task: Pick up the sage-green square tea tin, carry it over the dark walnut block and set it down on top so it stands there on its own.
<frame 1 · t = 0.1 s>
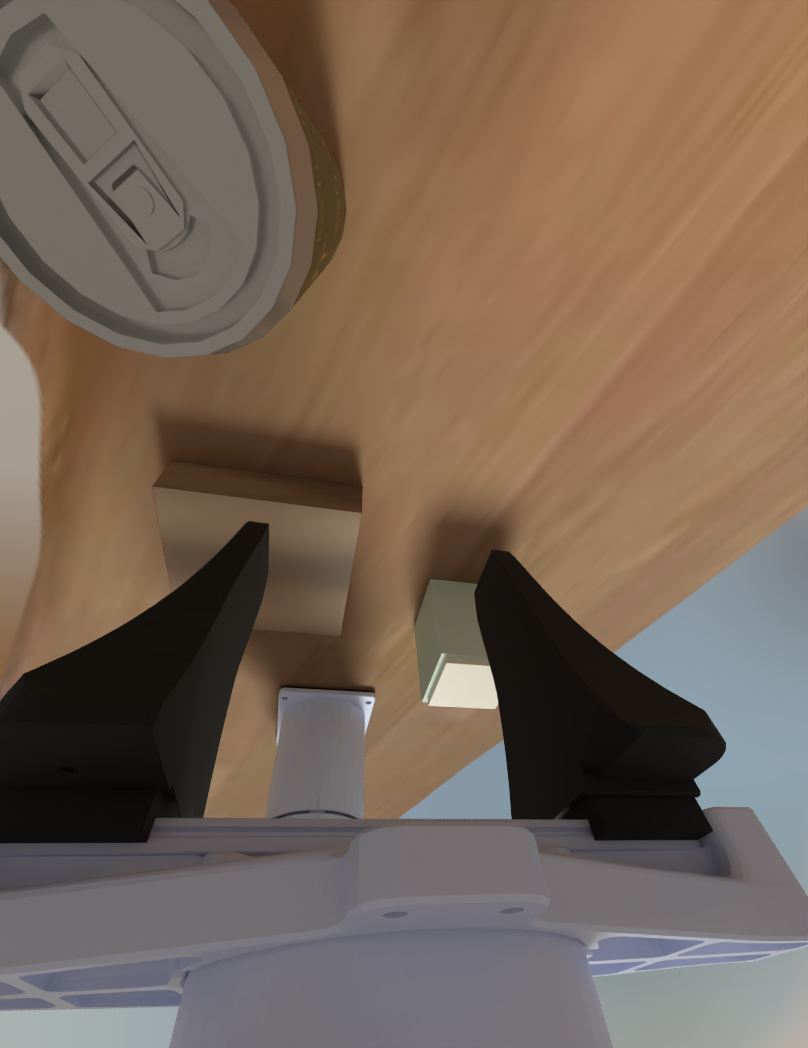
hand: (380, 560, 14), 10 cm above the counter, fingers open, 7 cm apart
walnut block: (271, 539, 26), on the counter
beer can: (276, 200, 16), on the counter
tea tin: (455, 606, 30), on the counter
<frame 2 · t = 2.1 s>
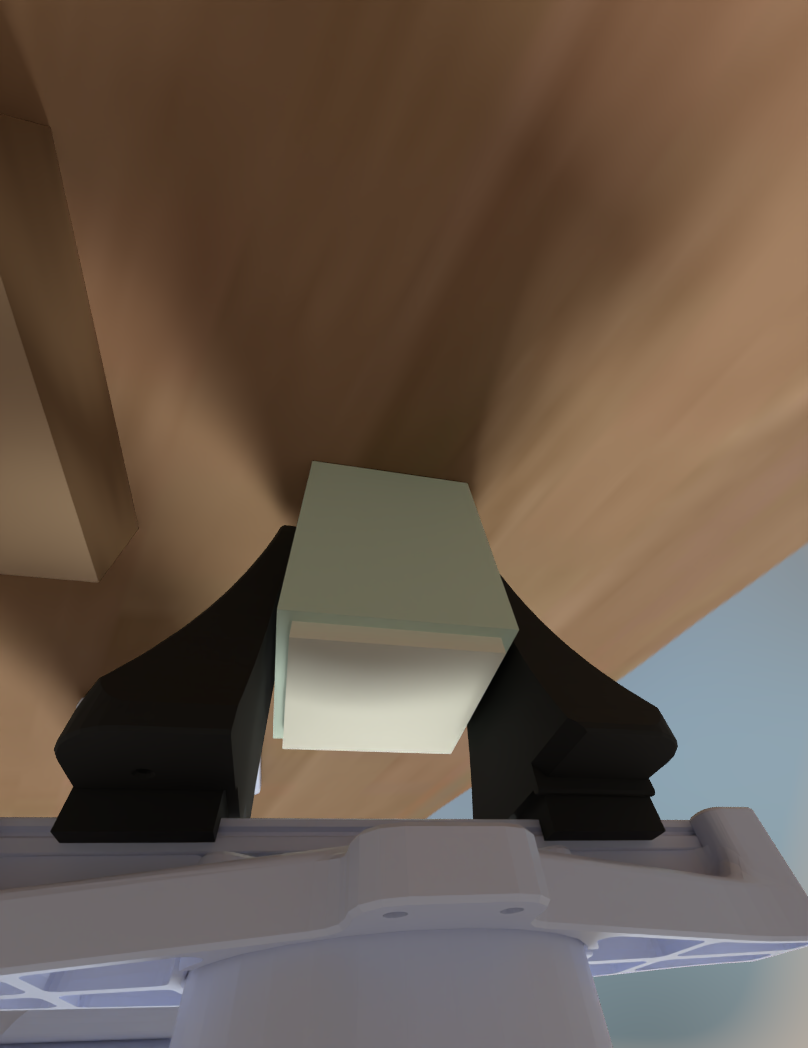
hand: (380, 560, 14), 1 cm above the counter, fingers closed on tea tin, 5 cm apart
tea tin: (379, 533, 15), on the counter, touching gripper
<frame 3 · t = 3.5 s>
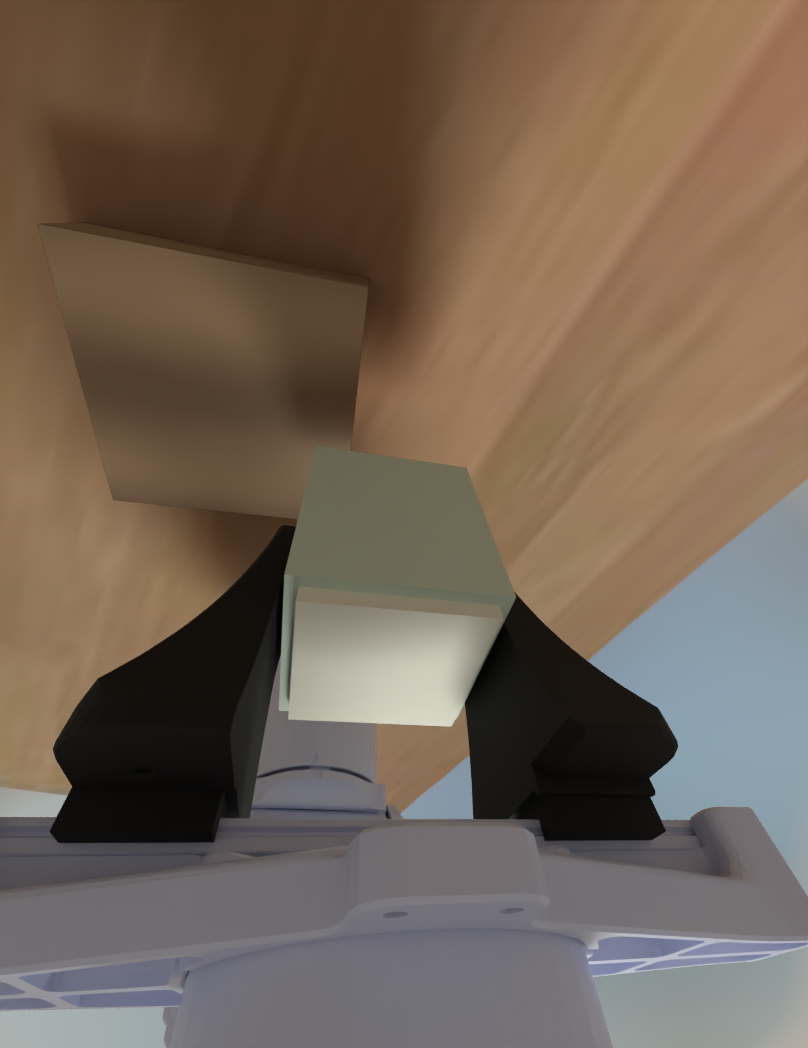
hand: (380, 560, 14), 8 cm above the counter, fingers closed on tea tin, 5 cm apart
walnut block: (243, 382, 19), on the counter
tea tin: (381, 518, 15), point 6 cm above the counter, touching gripper
when the fingers open (5 cm above the counter, at t = 5.1 s): tea tin stays where it is, resting on walnut block.
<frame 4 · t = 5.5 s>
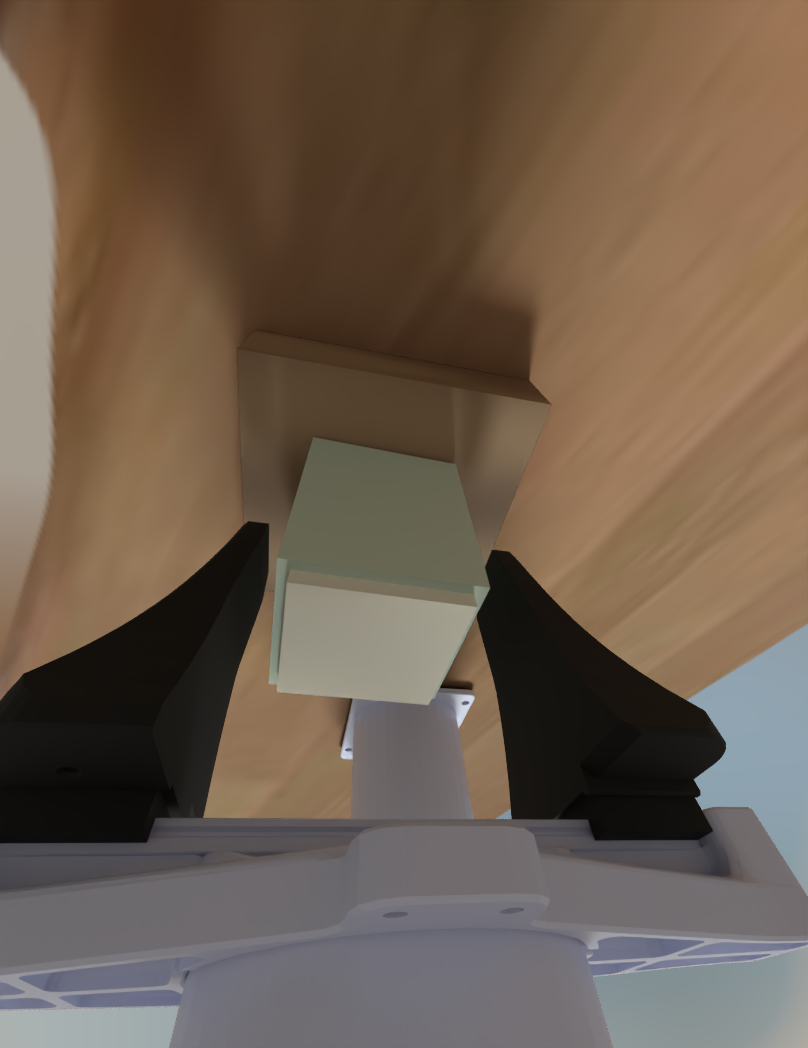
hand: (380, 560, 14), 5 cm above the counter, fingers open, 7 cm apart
walnut block: (378, 469, 18), on the counter, touching tea tin
tea tin: (373, 509, 16), point 3 cm above the counter, touching walnut block
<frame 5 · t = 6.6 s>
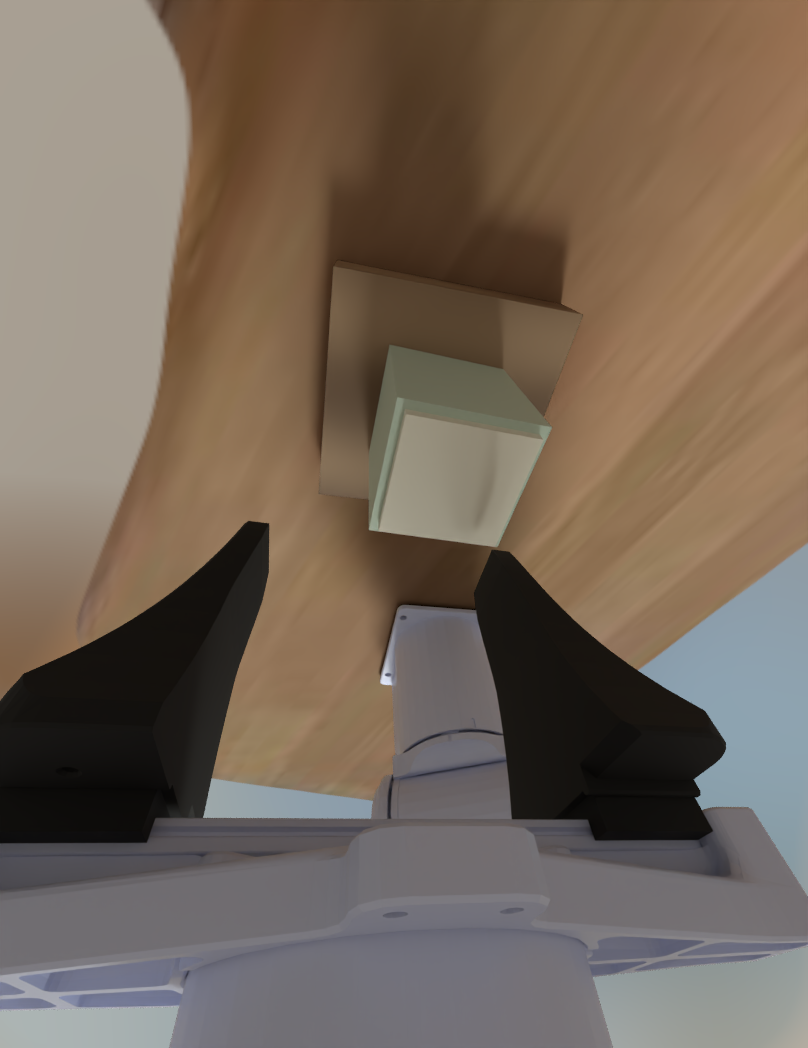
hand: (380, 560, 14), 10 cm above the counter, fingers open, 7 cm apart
walnut block: (428, 391, 21), on the counter, touching tea tin
tea tin: (432, 413, 19), point 2 cm above the counter, touching walnut block
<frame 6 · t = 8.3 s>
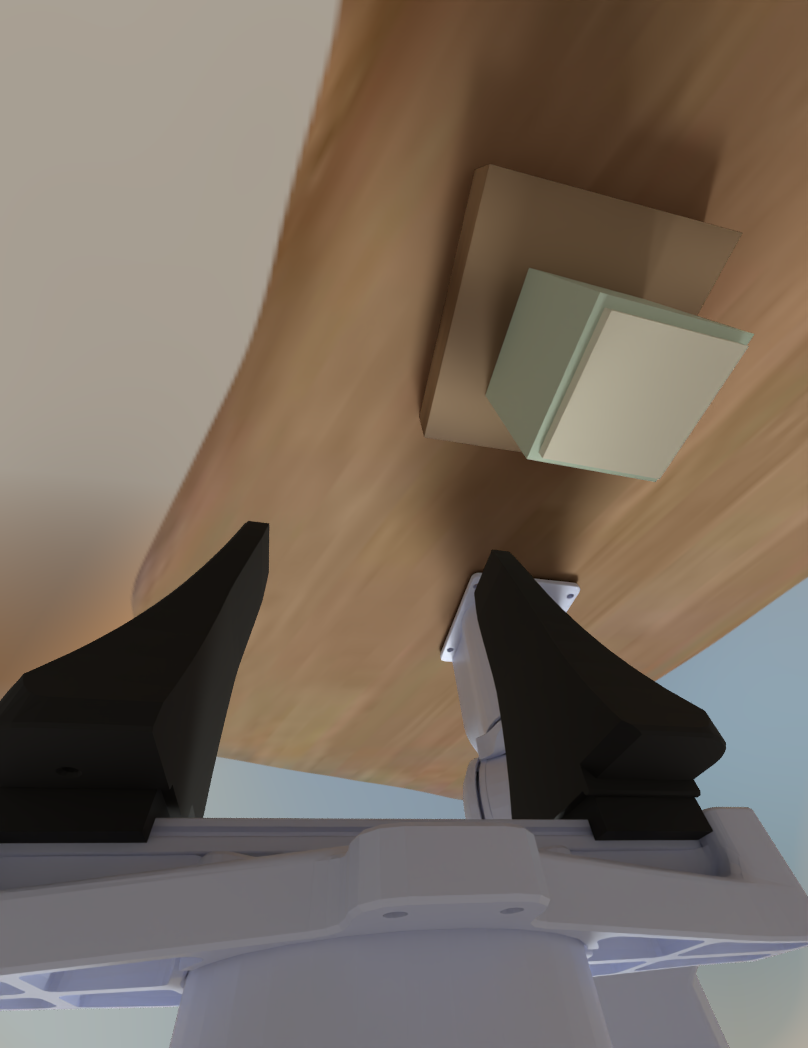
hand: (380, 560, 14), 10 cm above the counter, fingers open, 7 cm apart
walnut block: (541, 330, 20), on the counter, touching tea tin
tea tin: (559, 349, 18), point 2 cm above the counter, touching walnut block
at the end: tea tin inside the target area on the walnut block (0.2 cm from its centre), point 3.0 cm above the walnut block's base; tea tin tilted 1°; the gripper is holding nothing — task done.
